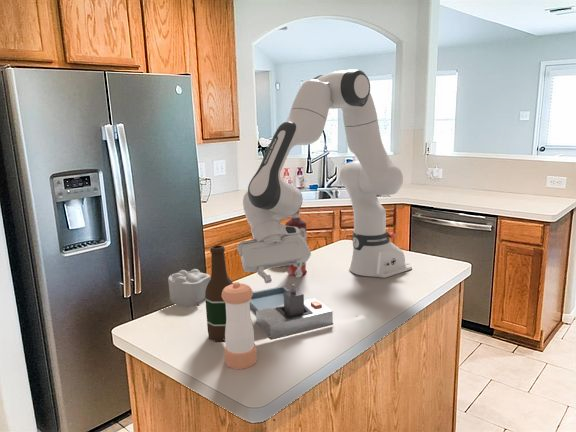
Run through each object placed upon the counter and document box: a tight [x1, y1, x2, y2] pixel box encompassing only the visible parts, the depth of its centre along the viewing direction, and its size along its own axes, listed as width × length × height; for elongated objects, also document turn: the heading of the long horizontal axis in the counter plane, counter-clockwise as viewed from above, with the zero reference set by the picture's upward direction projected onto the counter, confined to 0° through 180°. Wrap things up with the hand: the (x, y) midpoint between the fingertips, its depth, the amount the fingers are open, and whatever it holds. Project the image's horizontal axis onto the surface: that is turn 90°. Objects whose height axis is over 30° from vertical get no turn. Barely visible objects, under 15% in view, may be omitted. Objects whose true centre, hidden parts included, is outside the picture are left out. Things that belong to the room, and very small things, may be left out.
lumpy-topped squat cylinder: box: [167, 268, 211, 307], centre depth 143 cm, size 10×13×9 cm
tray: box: [250, 285, 291, 313], centre depth 137 cm, size 14×14×2 cm
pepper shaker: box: [221, 281, 257, 370], centre depth 104 cm, size 7×7×19 cm
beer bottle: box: [204, 244, 234, 343], centre depth 116 cm, size 8×8×24 cm
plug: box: [284, 283, 305, 316], centre depth 123 cm, size 4×4×10 cm
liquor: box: [284, 210, 308, 277], centre depth 159 cm, size 7×7×28 cm
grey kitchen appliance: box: [255, 298, 334, 341], centre depth 123 cm, size 18×10×5 cm, turn 115°
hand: (284, 279), depth 127 cm, fingers open, 8 cm apart
